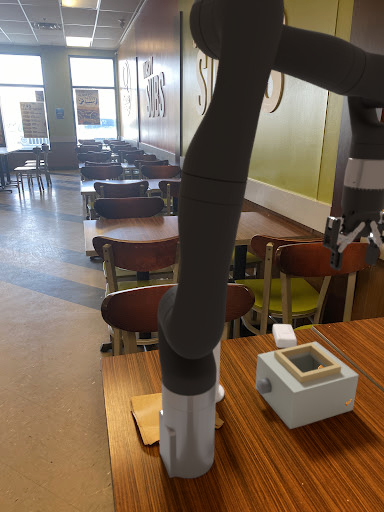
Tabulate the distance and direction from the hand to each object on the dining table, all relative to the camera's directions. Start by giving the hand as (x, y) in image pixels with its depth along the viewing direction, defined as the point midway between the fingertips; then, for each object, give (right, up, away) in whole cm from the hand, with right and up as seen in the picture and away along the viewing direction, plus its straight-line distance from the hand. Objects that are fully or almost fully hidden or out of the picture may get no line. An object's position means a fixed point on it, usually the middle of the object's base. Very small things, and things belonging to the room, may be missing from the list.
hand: (353, 266), depth 78 cm
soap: (-5, -22, +35) cm, 42 cm away
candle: (-28, -30, +13) cm, 43 cm away
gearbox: (-7, -30, +11) cm, 33 cm away
